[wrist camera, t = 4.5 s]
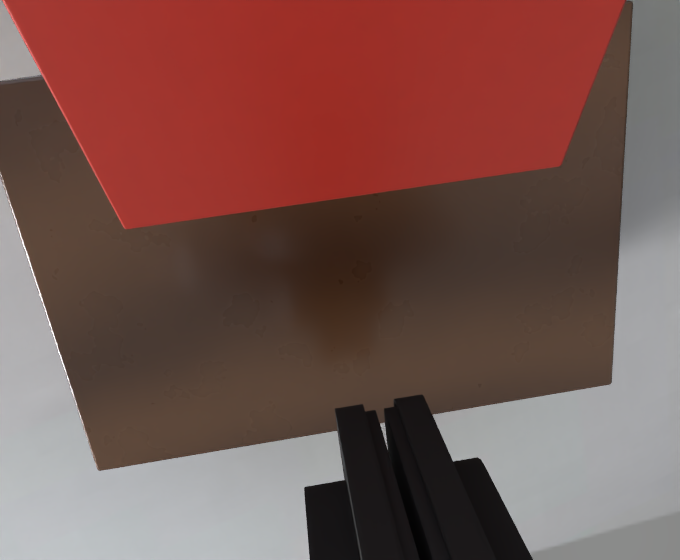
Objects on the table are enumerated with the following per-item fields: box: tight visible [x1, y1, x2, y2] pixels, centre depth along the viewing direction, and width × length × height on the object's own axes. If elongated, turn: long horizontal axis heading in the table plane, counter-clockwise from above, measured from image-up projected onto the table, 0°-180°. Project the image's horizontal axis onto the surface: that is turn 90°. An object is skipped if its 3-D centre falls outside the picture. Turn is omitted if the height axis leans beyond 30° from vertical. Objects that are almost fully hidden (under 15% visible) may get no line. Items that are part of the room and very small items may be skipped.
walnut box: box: [0, 1, 633, 471], centre depth 16 cm, size 9×13×6 cm
